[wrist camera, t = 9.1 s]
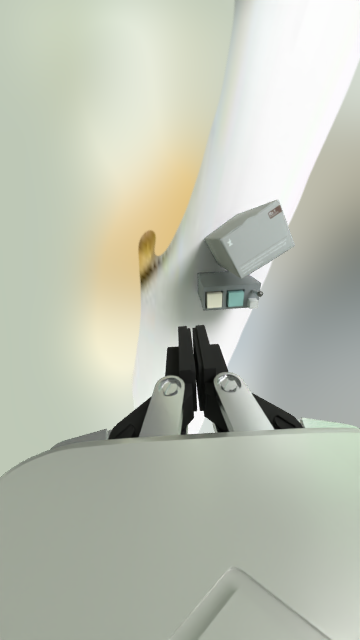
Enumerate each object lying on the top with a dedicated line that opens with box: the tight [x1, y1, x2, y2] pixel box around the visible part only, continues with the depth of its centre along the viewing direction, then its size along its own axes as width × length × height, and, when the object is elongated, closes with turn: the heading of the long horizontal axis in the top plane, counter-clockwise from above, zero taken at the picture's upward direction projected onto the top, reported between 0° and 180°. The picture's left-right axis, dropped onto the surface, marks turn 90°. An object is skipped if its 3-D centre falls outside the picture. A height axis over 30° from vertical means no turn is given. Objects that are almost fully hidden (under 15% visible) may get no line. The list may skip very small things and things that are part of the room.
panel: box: [198, 271, 261, 310], centre depth 37 cm, size 4×10×10 cm, turn 94°
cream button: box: [205, 291, 222, 308], centre depth 34 cm, size 3×3×3 cm
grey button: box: [247, 298, 259, 309], centre depth 33 cm, size 1×1×1 cm
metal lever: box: [251, 289, 263, 297], centre depth 31 cm, size 1×1×4 cm
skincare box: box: [204, 200, 295, 279], centre depth 31 cm, size 8×7×16 cm
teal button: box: [226, 289, 244, 307], centre depth 34 cm, size 3×3×3 cm
